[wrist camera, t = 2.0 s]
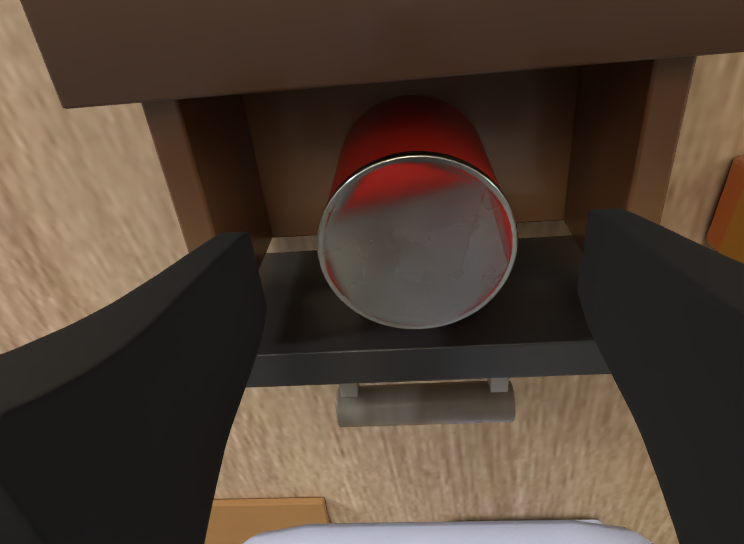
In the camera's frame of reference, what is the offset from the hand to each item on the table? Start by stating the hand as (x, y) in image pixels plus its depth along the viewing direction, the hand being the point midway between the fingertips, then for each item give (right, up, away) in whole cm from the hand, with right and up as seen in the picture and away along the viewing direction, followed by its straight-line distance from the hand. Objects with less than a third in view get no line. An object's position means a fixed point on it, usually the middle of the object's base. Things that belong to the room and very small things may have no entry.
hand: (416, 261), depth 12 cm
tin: (0, +3, +5) cm, 6 cm away
